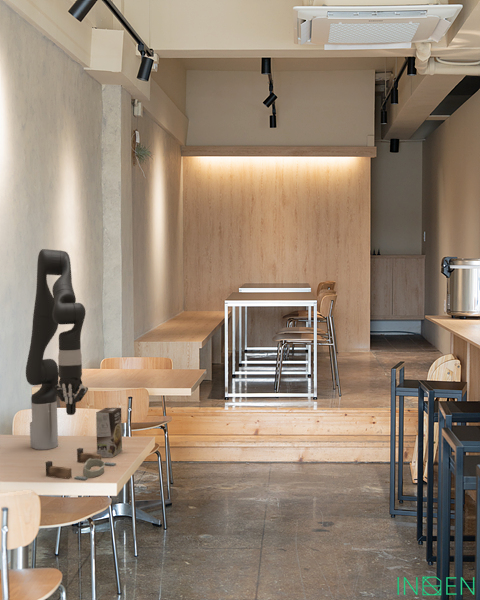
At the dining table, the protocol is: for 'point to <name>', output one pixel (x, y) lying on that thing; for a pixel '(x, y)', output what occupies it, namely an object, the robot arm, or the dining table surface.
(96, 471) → the wristwatch
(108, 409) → the coffee box
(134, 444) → the dining table surface
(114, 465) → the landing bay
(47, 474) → the corridor
